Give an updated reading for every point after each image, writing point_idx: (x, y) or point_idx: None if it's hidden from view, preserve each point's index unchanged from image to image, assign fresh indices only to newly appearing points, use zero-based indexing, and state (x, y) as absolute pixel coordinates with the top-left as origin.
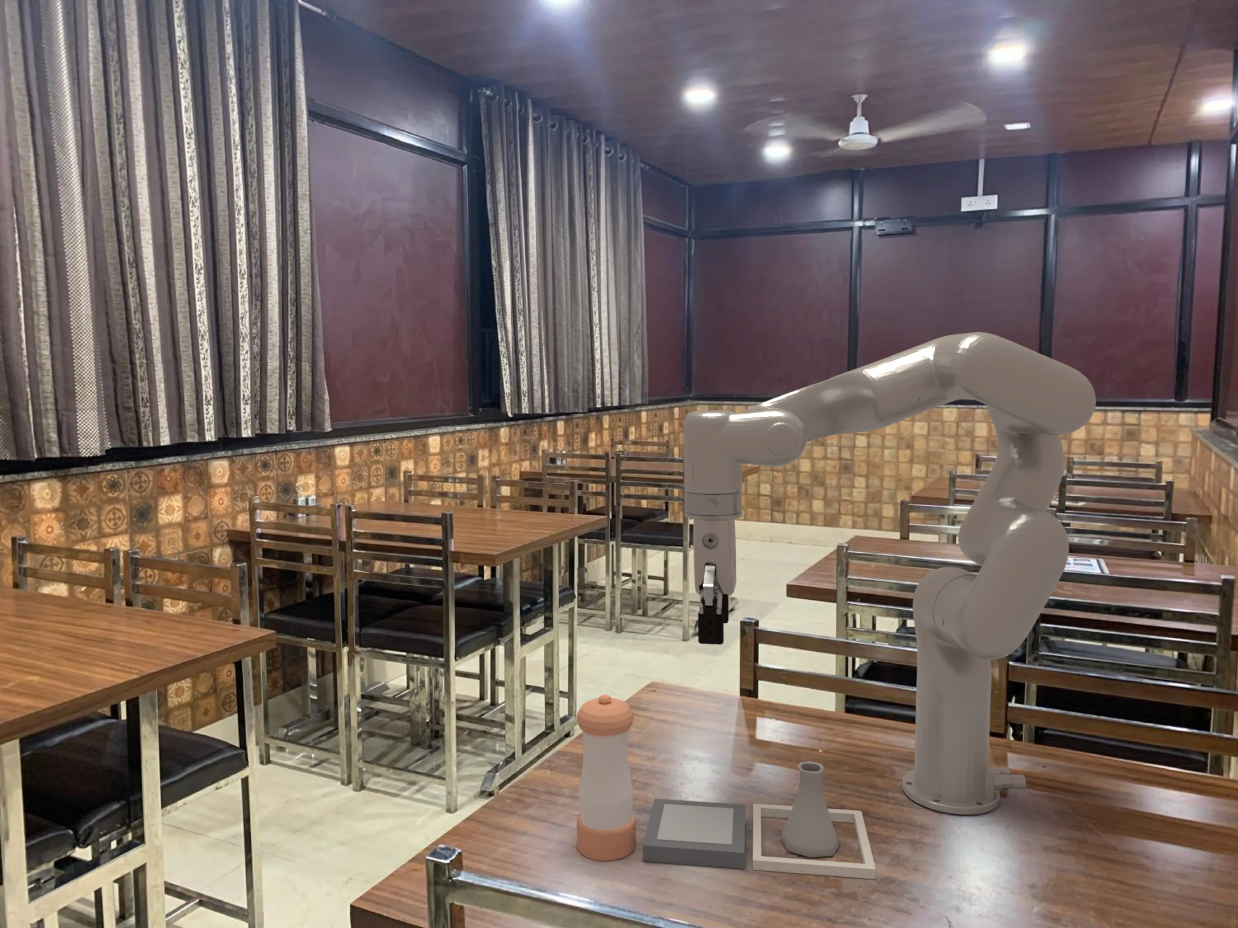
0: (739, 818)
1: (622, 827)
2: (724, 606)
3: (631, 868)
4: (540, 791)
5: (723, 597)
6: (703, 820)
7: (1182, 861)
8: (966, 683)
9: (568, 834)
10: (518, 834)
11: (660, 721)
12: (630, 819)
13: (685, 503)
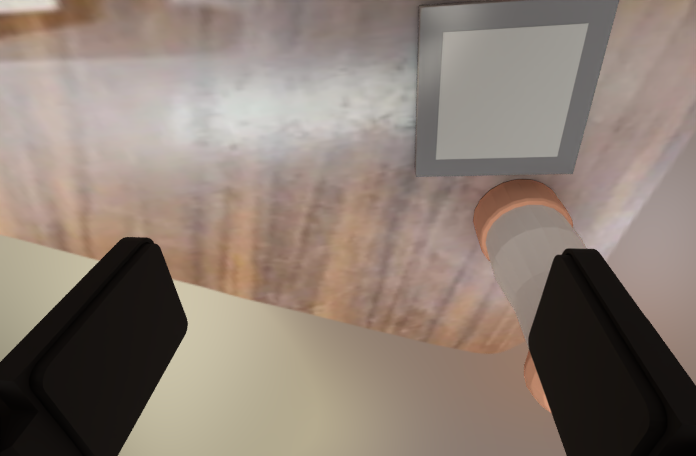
0: (480, 16)
1: (561, 213)
2: (104, 325)
3: (581, 175)
4: (374, 306)
5: (62, 388)
6: (493, 87)
7: None
8: None
9: (485, 261)
10: (487, 308)
11: (88, 197)
12: (544, 206)
13: None
